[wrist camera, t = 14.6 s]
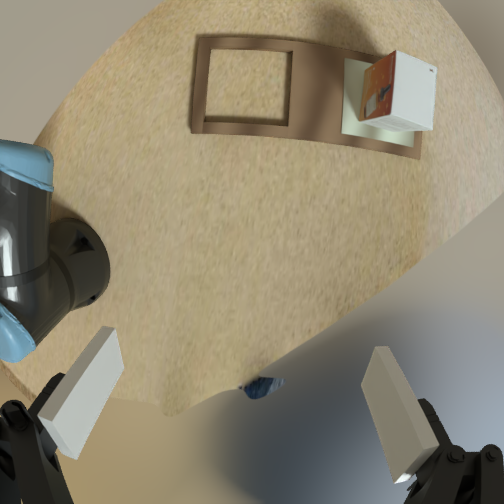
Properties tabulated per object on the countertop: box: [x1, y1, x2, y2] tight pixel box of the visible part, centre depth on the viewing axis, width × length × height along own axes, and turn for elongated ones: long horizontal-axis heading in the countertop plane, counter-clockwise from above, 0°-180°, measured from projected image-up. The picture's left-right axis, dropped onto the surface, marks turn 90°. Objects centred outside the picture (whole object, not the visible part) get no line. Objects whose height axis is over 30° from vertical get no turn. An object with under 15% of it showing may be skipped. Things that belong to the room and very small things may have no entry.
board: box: [191, 37, 422, 159], centre depth 34 cm, size 32×14×1 cm, turn 86°
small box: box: [359, 50, 437, 132], centre depth 28 cm, size 8×6×10 cm
